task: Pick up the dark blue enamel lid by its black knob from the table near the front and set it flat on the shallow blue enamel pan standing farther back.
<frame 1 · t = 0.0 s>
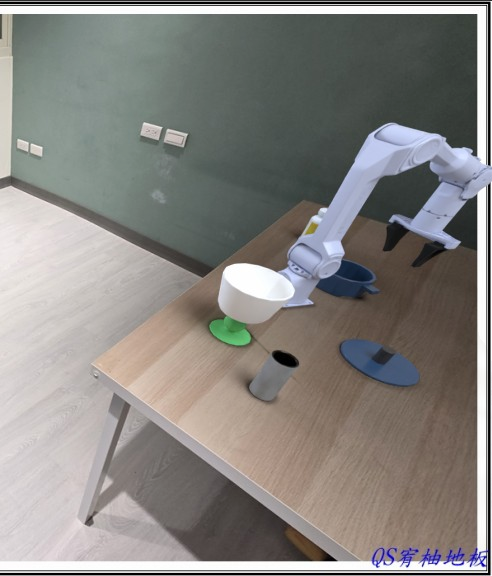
hand: (400, 258, 99), 10 cm above the table, tool pointing down, fingers open, 7 cm apart
pan: (336, 285, 107), on the table
cup: (229, 333, 91), on the table
planter: (260, 392, 77), on the table
lid: (377, 362, 83), point 1 cm above the table
pill bottle: (309, 243, 126), on the table
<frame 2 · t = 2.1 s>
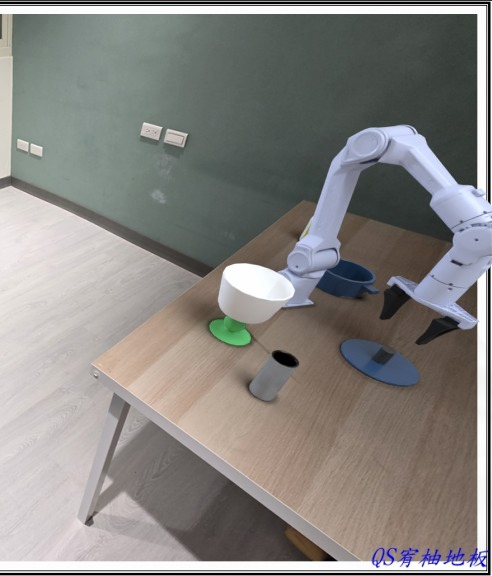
hand: (401, 330, 80), 9 cm above the table, tool pointing down, fingers open, 7 cm apart
nothing on the table moved.
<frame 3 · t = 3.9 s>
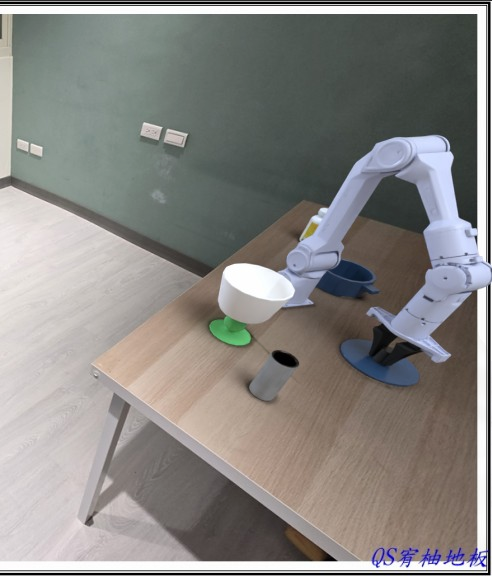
hand: (379, 359, 83), 1 cm above the table, tool pointing down, fingers closed on lid, 2 cm apart
lid: (377, 361, 83), point 1 cm above the table, touching gripper
everything else where it was.
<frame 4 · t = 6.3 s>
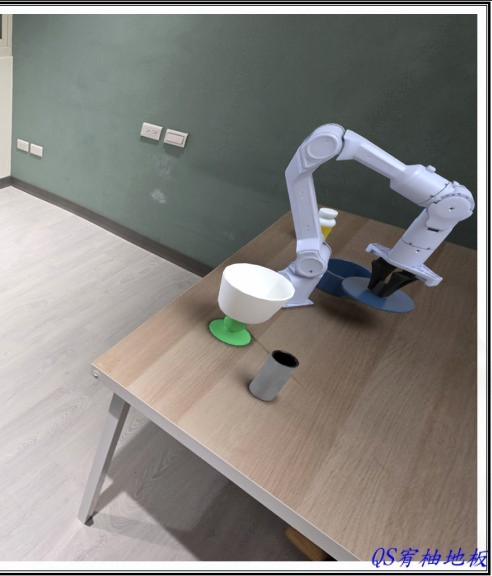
hand: (377, 292, 89), 9 cm above the table, tool pointing down, fingers closed on lid, 2 cm apart
lid: (375, 294, 89), point 9 cm above the table, touching gripper
everything else where it was.
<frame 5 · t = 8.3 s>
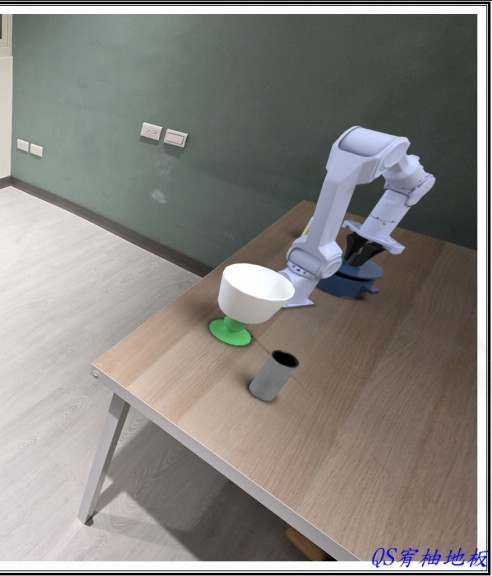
hand: (352, 262, 102), 8 cm above the table, tool pointing down, fingers closed on lid, 2 cm apart
lid: (350, 264, 103), point 7 cm above the table, touching gripper
everything else where it was.
when the fingers open (6 cm above the table, at t = 9.0 s): lid stays where it is, resting on pan.
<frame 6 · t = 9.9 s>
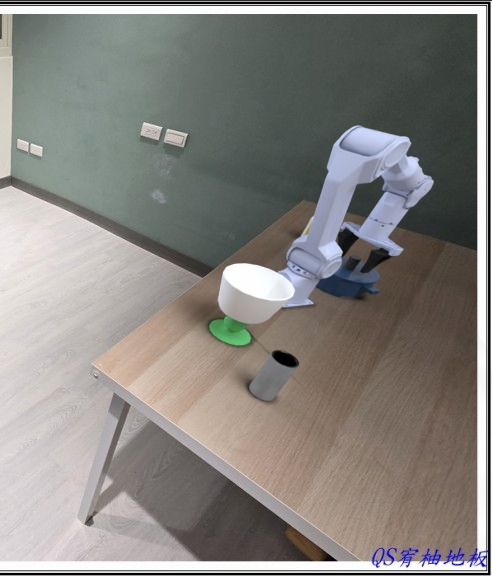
hand: (351, 264, 102), 7 cm above the table, tool pointing down, fingers open, 7 cm apart
lid: (347, 269, 103), point 5 cm above the table, touching pan
everything else where it was.
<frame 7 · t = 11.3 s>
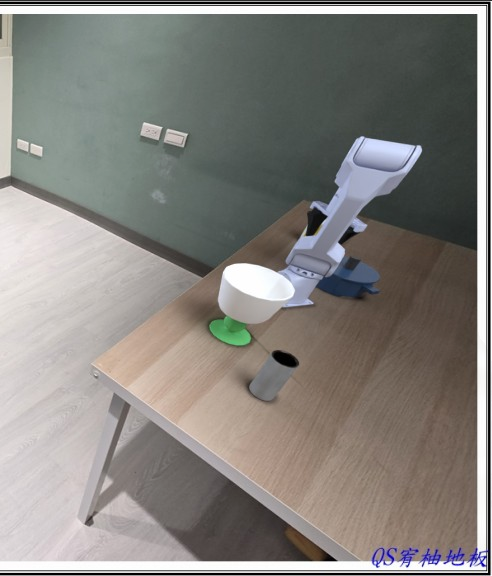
hand: (320, 242, 105), 10 cm above the table, tool pointing down, fingers open, 7 cm apart
nothing on the table moved.
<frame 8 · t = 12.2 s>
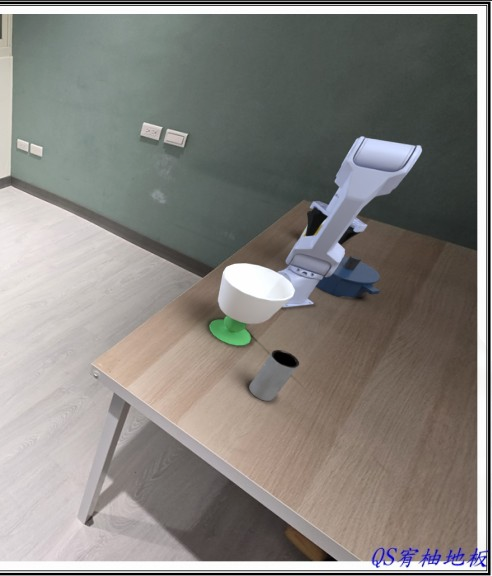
hand: (320, 242, 105), 10 cm above the table, tool pointing down, fingers open, 7 cm apart
nothing on the table moved.
at the end: lid 0.1 cm off-centre on the pan, point 5.4 cm above the pan's base; lid tilted 0° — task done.
